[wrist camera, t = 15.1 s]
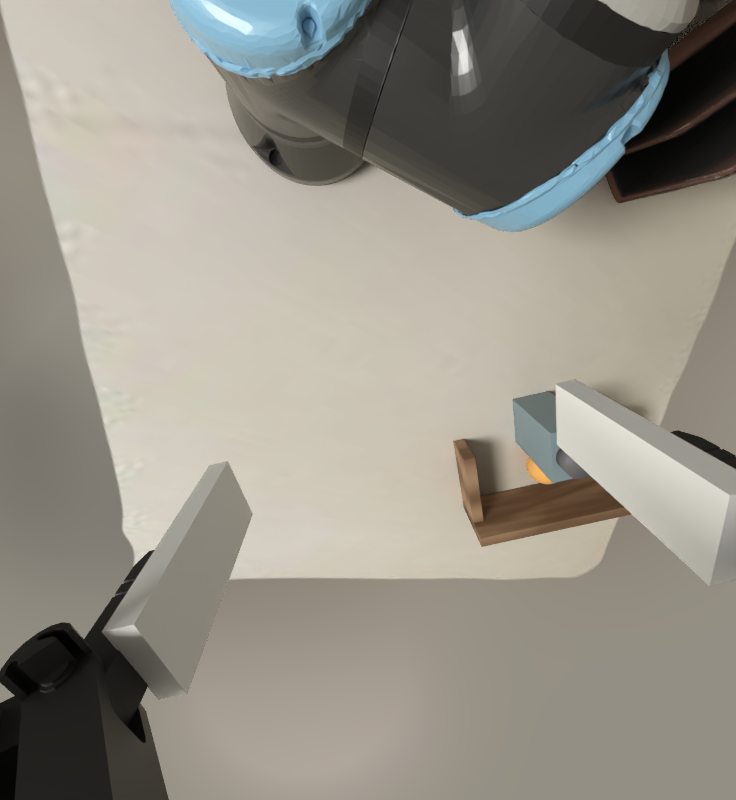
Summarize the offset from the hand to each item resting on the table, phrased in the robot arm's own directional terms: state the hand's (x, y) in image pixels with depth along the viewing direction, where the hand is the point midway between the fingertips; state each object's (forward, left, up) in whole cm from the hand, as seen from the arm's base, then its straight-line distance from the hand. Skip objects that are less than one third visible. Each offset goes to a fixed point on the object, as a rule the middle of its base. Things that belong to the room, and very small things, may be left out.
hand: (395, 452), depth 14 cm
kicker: (+20, +20, -32) cm, 42 cm away
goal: (+26, +20, -32) cm, 46 cm away
